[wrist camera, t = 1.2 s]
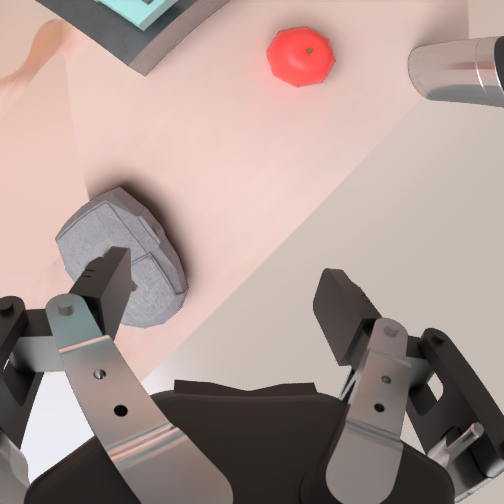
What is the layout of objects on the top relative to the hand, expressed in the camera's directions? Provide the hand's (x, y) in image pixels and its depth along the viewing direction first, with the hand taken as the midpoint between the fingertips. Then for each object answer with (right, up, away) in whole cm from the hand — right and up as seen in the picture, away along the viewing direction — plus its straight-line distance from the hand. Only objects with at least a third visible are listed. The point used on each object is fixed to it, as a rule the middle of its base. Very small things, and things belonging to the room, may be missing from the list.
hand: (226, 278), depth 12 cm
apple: (+6, +25, +19) cm, 32 cm away
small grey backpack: (-16, +1, +28) cm, 32 cm away
